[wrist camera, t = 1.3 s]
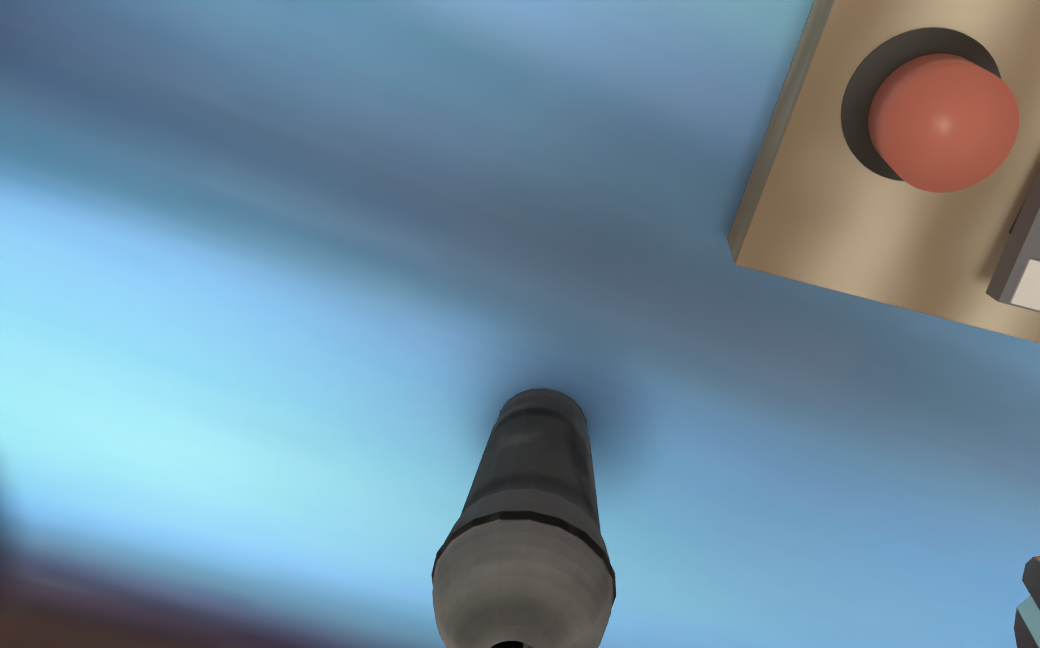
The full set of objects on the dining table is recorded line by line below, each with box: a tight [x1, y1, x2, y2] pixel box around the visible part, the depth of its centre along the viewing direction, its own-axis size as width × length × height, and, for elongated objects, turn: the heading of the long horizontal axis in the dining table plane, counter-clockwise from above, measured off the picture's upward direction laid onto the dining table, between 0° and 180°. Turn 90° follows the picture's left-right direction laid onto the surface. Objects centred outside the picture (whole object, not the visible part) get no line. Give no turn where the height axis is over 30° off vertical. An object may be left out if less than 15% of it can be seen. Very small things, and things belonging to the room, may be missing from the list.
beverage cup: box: [432, 389, 616, 648], centre depth 38 cm, size 7×7×20 cm
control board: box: [727, 0, 1040, 343], centre depth 36 cm, size 16×20×4 cm
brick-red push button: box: [868, 53, 1019, 193], centre depth 33 cm, size 4×4×2 cm
